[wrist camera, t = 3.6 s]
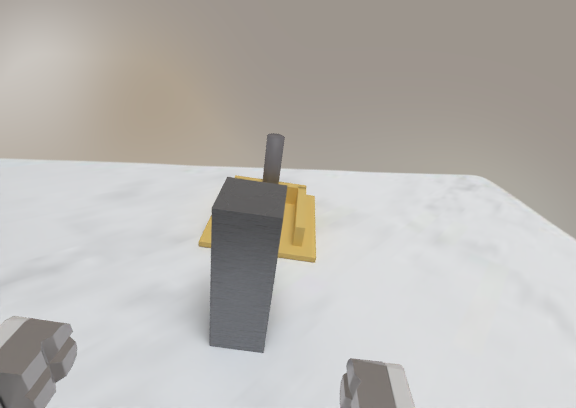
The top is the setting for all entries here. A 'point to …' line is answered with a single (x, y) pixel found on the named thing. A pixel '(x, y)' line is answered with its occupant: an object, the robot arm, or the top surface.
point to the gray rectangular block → (244, 261)
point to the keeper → (297, 211)
